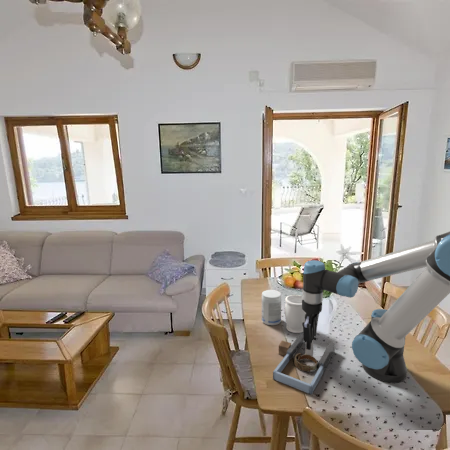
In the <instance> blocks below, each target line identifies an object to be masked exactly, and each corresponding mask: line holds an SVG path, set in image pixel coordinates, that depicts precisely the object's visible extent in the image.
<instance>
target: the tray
mask: <svg viewBox="0 0 450 450" xmlns="http://www.w3.org/2000/svg"><path fill="white" fill-rule="evenodd" d="M288 363H290V361H289V354H286V356H284V357H283V359H281V360H280V362H279V363H278V364H277V366H276V367H275V369H273V372H272V380H275V381H277V382H279V383H282V384H284V385H287V386H289V387H292V388H294V389H297V390H300V391H301V392H304V393H306V394H310V395H313V393H314V391H315V389H316V387H317V386H318V384H319V382H320V380H321V378H322V376H323V375H324V372H323V366H320V365H319V368H318V369H317V371H316V373H315V375H314V376H313V378H312V380H311V382H310V383H309V382H306V381H304V380H300V379H298V378H295V377H293V376H291V375H287V374H284V373H282V372H283V370H284V369H285V368H286V366H287V365H288Z"/></svg>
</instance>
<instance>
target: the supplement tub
mask: <svg viewBox="0 0 450 450" xmlns="http://www.w3.org/2000/svg"><path fill="white" fill-rule="evenodd" d="M261 321H262V323H263V324H265V325H267V326H277V325H280V323H281V321H282V292H280V291H278V290H275V289H267V290H263V291H262V292H261Z"/></svg>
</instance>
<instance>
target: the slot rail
mask: <svg viewBox="0 0 450 450" xmlns="http://www.w3.org/2000/svg"><path fill="white" fill-rule="evenodd" d="M303 339H304V336H303V332H301V333H299V335H298V336H297V338H296V339H295V340H294V341H293V343H291V347H290V348H289V349H288V350H287V354H289V362H290V361H291V360H292V359H293V357H295V355H296V354H297V352H298V350H299V349H300V347H301V346H302V345H303V344H304V340H303ZM335 344H336V343H335V342H333V341H330V342H329V344H328V345H327V347H326V349H325V350H324V352H323V354H322V356H321V357H320V359H319V360H318V365H319V367H320V366H323V373H324V371H325V370H326V368H327V367H328V365H329V362H331V359H332V357H333V355H334V353H335V349H336V347H335V346H336V345H335Z"/></svg>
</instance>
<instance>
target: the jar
mask: <svg viewBox="0 0 450 450" xmlns="http://www.w3.org/2000/svg"><path fill="white" fill-rule="evenodd" d="M302 297H303V295H299V294H290V295H287V296H286V297H285V298H284V299H285V300H284V302H285V306H284V316H285V322H286V323H285V324H286V326H285V327H286V330H287V331H288V332H290V333H293V334H301V333H303V325H302V323H303V322H305V314H306V312H305V311H303V309H302V300H303V298H302Z"/></svg>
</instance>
